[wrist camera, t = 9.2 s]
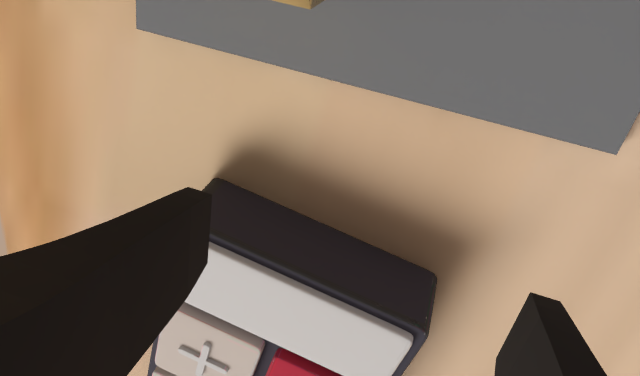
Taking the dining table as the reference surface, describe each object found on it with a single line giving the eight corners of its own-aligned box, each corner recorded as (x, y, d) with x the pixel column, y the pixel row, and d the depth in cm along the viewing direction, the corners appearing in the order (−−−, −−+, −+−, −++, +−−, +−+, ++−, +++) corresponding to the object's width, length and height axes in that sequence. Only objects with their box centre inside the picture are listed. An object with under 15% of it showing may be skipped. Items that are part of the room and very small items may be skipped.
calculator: (132, 422, 29) (163, 227, 20) (172, 361, 32) (214, 171, 23) (314, 511, 28) (430, 348, 19) (335, 438, 31) (441, 272, 23)
